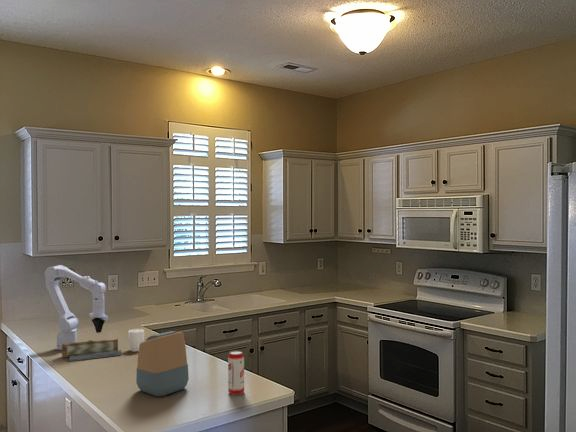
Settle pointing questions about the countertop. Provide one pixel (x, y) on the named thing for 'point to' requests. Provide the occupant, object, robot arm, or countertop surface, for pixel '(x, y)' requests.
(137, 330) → the white cup
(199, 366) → the countertop surface
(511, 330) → the countertop surface
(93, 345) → the picture frame
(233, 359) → the beer can
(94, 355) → the slanted bar
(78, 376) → the countertop surface
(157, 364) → the two-tone smart speaker
